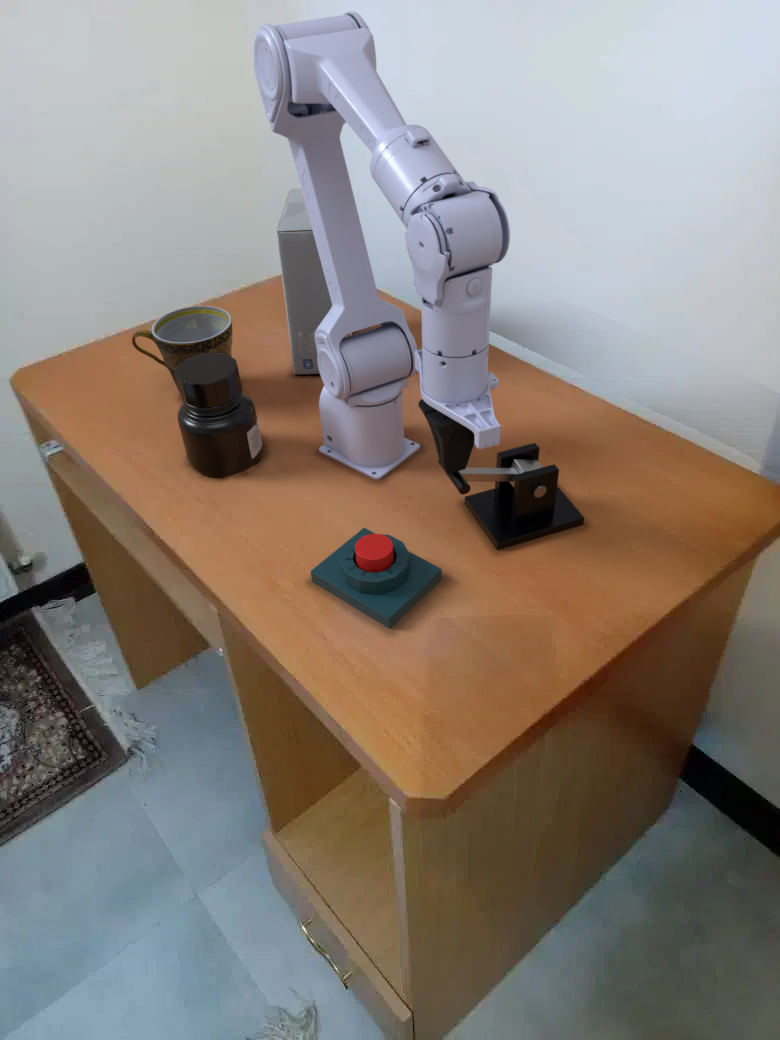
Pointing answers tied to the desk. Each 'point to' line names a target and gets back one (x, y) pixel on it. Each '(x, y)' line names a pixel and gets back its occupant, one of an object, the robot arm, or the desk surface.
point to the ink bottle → (216, 416)
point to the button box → (377, 581)
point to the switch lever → (490, 474)
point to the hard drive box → (302, 282)
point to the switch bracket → (523, 503)
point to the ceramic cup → (188, 335)
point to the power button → (374, 553)
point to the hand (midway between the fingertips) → (453, 467)
